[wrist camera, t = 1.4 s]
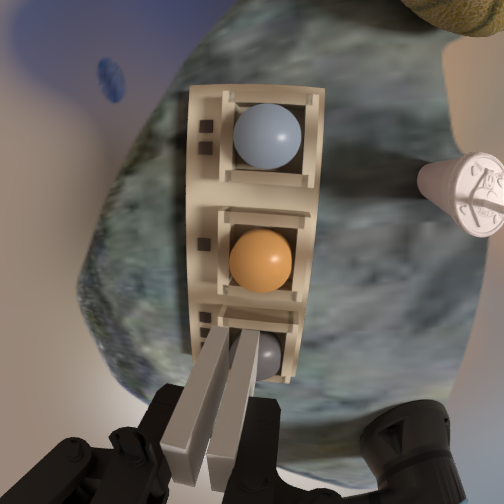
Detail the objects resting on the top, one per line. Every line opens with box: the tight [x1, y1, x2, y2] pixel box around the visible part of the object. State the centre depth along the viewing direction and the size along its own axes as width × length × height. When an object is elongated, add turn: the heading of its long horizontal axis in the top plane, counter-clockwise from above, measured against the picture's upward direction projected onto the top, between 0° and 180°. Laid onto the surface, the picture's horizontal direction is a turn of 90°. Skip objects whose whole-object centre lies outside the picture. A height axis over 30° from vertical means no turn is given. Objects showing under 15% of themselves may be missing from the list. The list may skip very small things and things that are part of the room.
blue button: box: [233, 103, 301, 169], centre depth 22 cm, size 5×5×2 cm
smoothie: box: [417, 152, 504, 237], centre depth 19 cm, size 6×6×14 cm
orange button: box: [229, 227, 292, 293], centre depth 25 cm, size 5×5×2 cm
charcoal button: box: [229, 329, 281, 381], centre depth 28 cm, size 5×5×2 cm
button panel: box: [186, 84, 325, 383], centre depth 27 cm, size 30×12×4 cm, turn 177°
